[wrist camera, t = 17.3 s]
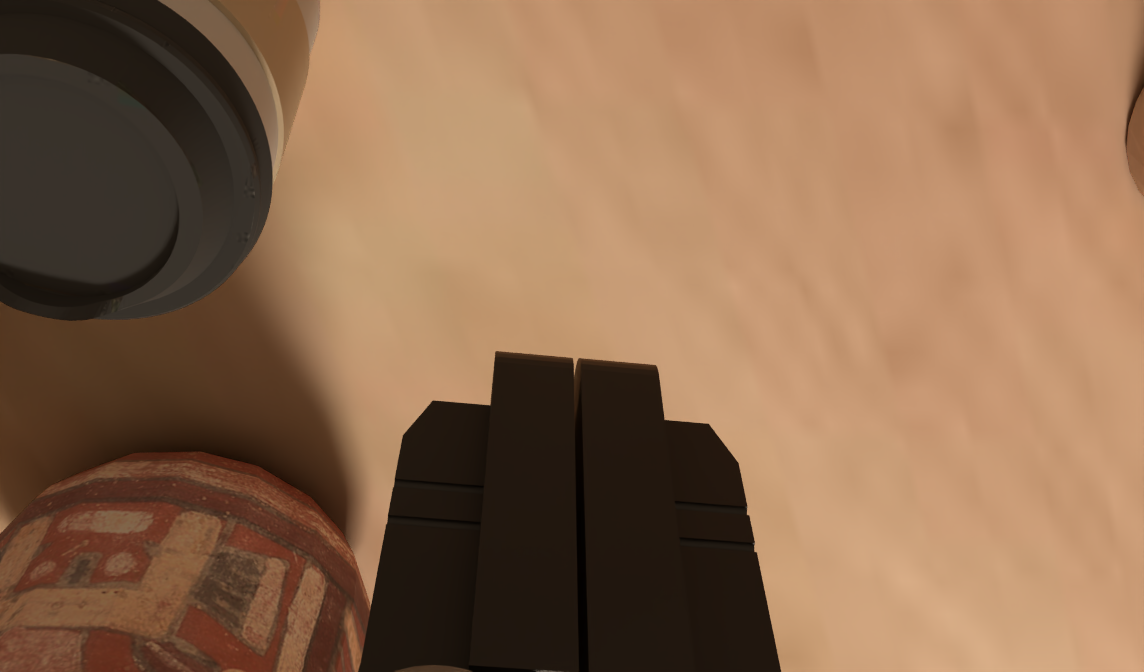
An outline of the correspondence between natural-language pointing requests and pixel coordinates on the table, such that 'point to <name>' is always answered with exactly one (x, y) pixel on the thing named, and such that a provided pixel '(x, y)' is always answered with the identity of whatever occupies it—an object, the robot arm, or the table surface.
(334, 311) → the table surface
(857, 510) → the table surface
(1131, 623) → the table surface
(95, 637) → the pottery
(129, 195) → the coffee cup
